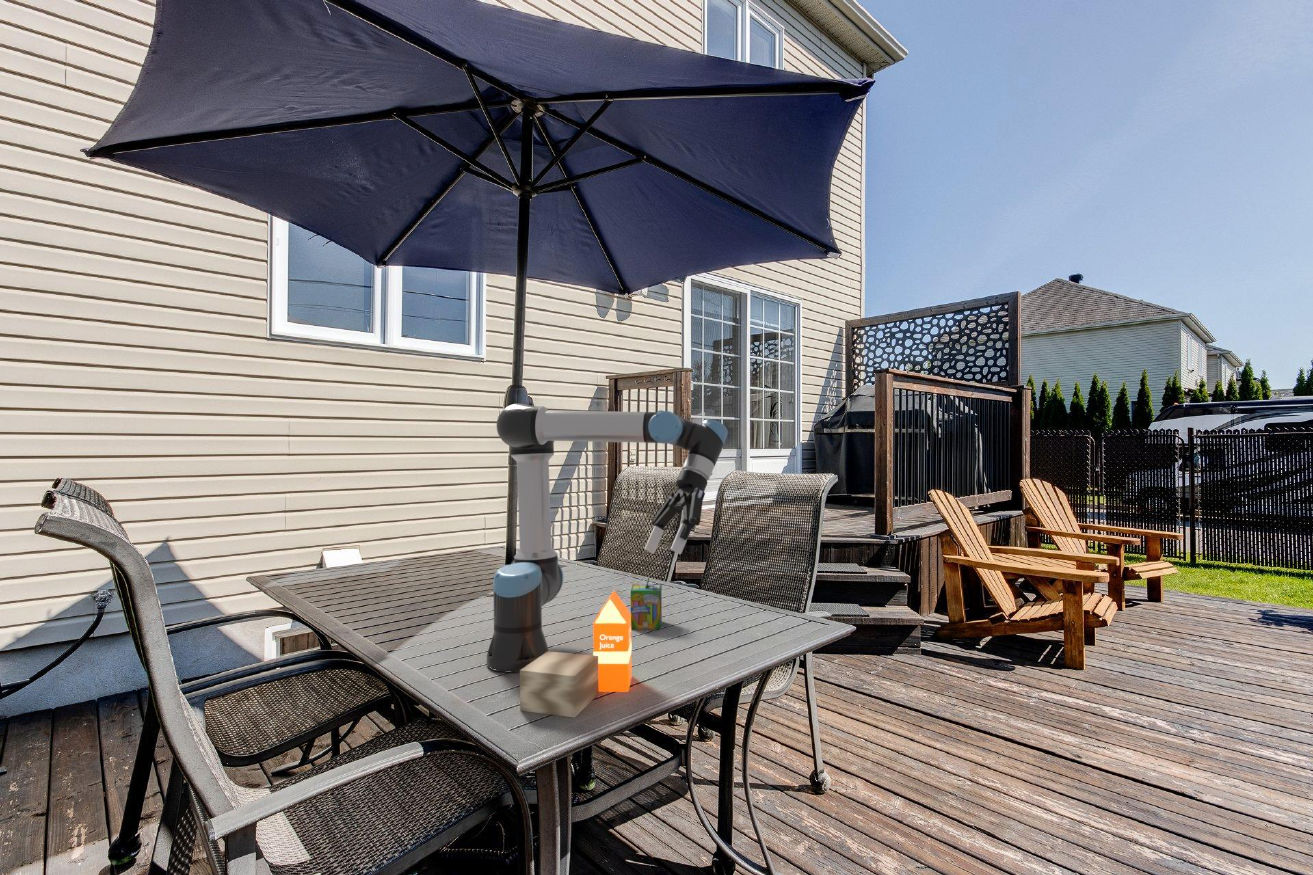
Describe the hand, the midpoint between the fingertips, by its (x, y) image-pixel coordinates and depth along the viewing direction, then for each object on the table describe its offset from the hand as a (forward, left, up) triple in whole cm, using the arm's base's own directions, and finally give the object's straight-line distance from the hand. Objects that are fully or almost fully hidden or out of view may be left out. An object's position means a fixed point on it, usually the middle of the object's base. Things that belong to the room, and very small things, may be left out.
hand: (661, 551), depth 144 cm
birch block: (-15, -25, -27) cm, 40 cm away
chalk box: (-15, +32, -28) cm, 45 cm away
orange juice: (-8, -13, -28) cm, 32 cm away
